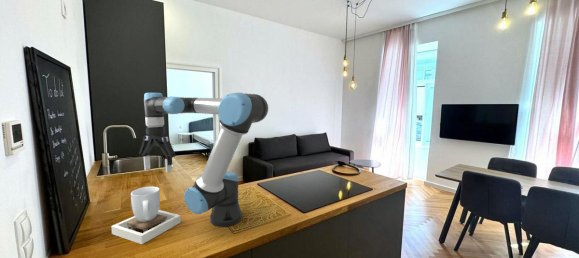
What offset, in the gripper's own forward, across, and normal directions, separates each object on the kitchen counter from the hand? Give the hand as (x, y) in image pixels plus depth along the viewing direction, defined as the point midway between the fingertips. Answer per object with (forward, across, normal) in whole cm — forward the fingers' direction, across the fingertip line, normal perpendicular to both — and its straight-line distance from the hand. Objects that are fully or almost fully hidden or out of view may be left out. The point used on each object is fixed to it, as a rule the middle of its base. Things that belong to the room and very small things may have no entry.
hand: (157, 170), depth 112 cm
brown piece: (+24, -2, +8) cm, 25 cm away
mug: (+20, -2, +9) cm, 22 cm away
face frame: (+24, -2, +8) cm, 25 cm away
